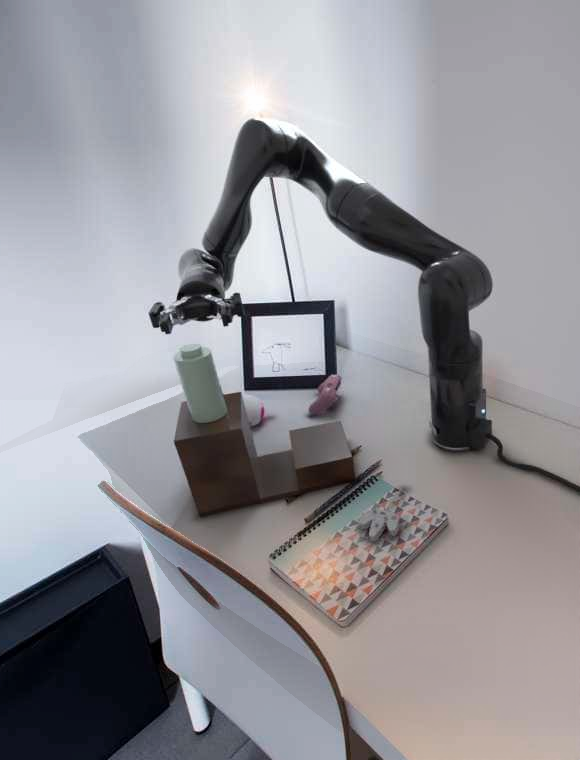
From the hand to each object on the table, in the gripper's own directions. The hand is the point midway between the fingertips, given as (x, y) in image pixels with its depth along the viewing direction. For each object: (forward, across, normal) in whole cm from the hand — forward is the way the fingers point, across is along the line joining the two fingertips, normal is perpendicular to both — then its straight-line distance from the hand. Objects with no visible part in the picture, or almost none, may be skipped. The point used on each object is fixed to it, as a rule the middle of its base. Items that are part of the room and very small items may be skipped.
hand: (195, 324), depth 83 cm
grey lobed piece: (+27, +23, +25) cm, 43 cm away
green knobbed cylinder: (+11, 0, +11) cm, 15 cm away
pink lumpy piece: (-11, +19, +25) cm, 33 cm away
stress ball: (-10, +4, +25) cm, 27 cm away
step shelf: (+11, +8, +25) cm, 28 cm away
